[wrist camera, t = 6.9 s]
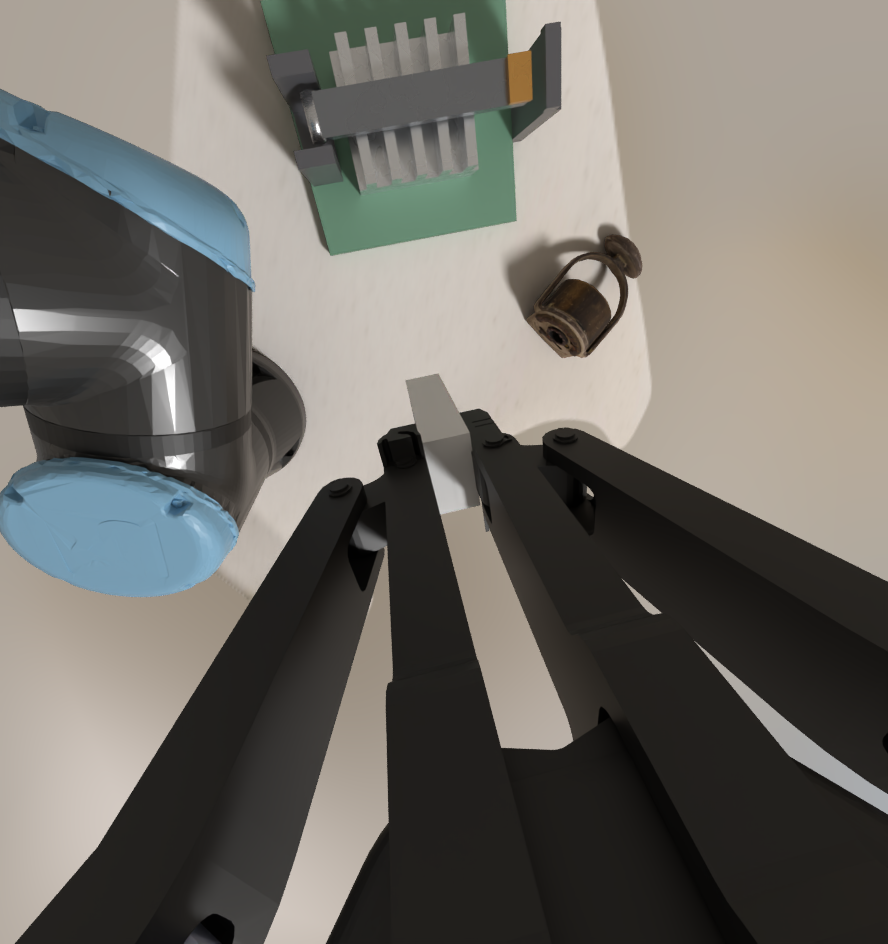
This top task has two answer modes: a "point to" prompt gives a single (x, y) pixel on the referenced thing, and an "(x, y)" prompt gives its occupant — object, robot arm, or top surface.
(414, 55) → the heatsink
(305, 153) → the grey u-bracket
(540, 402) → the top surface
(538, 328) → the antique brown clock
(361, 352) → the top surface
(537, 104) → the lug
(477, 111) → the strap
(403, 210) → the board
